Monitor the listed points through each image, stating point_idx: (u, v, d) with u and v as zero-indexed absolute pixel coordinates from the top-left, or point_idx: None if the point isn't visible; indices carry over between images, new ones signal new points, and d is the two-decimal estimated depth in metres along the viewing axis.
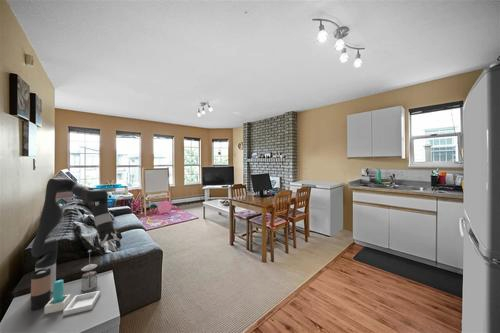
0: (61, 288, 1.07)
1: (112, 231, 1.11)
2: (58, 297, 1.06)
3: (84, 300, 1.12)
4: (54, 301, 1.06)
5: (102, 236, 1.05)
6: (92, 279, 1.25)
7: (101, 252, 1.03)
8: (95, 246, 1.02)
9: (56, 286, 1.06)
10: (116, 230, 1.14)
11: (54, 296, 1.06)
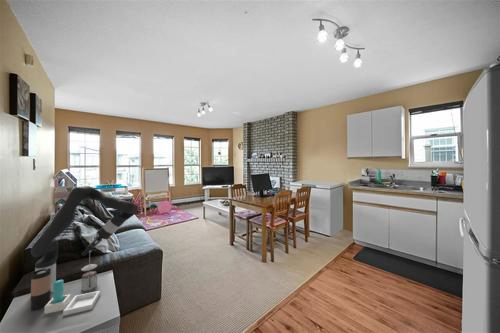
0: (61, 288, 1.07)
1: None
2: (58, 297, 1.06)
3: (84, 300, 1.12)
4: (54, 301, 1.06)
5: (98, 241, 1.14)
6: (92, 279, 1.25)
7: (84, 254, 1.09)
8: (89, 248, 1.09)
9: (56, 286, 1.06)
10: None
11: (54, 296, 1.06)
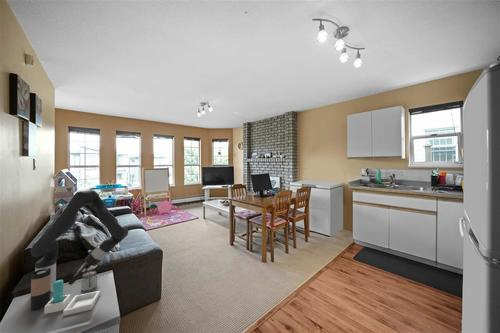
0: (61, 288, 1.07)
1: None
2: (58, 297, 1.06)
3: (84, 300, 1.12)
4: (54, 301, 1.06)
5: (86, 269, 1.11)
6: (92, 279, 1.25)
7: (71, 283, 1.06)
8: (76, 277, 1.06)
9: (56, 286, 1.06)
10: None
11: (54, 296, 1.06)
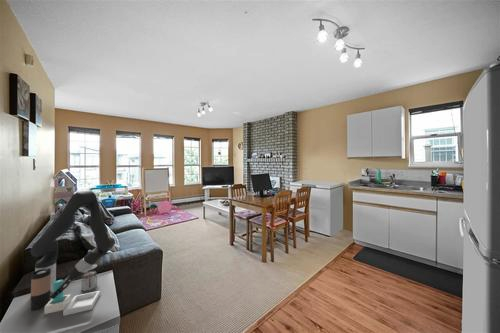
0: None
1: None
2: (58, 297, 1.06)
3: (84, 300, 1.12)
4: (54, 301, 1.06)
5: (68, 283, 1.07)
6: (92, 279, 1.25)
7: (53, 297, 1.04)
8: (58, 291, 1.04)
9: (56, 286, 1.06)
10: None
11: None
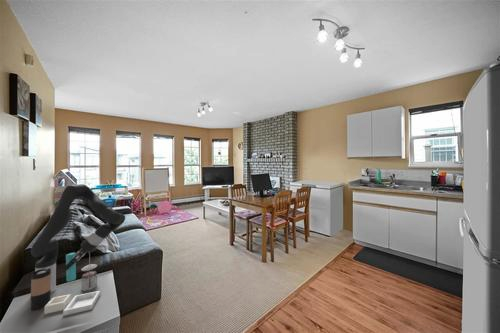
0: None
1: None
2: (71, 269, 1.07)
3: (84, 300, 1.12)
4: (67, 273, 1.07)
5: (81, 256, 1.09)
6: (92, 279, 1.25)
7: (66, 268, 1.05)
8: (71, 262, 1.05)
9: (69, 258, 1.07)
10: None
11: None
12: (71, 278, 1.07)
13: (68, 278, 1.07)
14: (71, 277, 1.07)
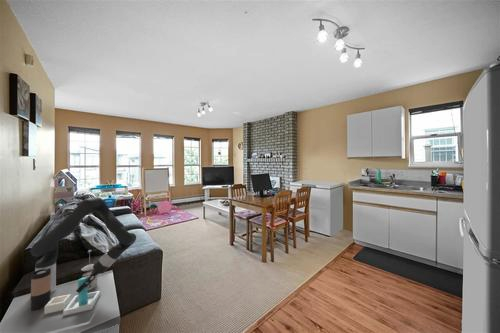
0: None
1: None
2: (83, 294, 1.08)
3: None
4: (79, 298, 1.08)
5: (94, 276, 1.10)
6: None
7: (79, 290, 1.05)
8: (84, 285, 1.05)
9: (81, 283, 1.08)
10: None
11: (79, 293, 1.08)
12: (83, 303, 1.08)
13: (80, 303, 1.07)
14: (83, 302, 1.08)
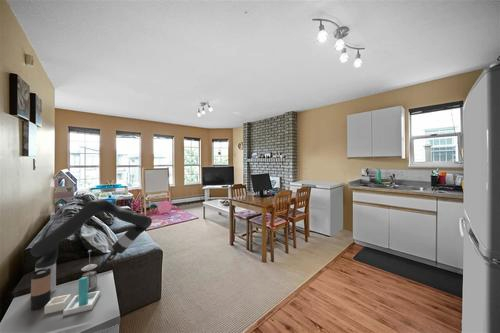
0: (86, 285, 1.10)
1: None
2: (84, 293, 1.08)
3: None
4: (80, 297, 1.08)
5: None
6: (92, 279, 1.25)
7: (100, 269, 1.09)
8: (105, 263, 1.09)
9: (82, 282, 1.08)
10: None
11: (79, 293, 1.08)
12: (83, 303, 1.08)
13: (81, 303, 1.07)
14: (83, 301, 1.08)
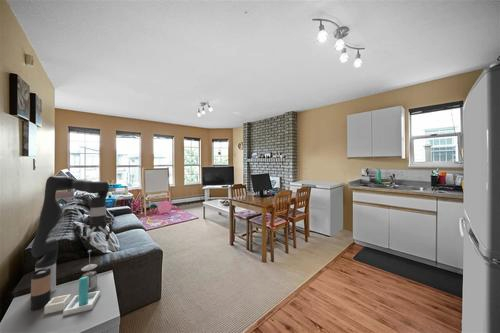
0: (86, 284, 1.10)
1: (102, 224, 1.16)
2: (84, 293, 1.09)
3: None
4: (80, 297, 1.08)
5: (90, 227, 1.14)
6: (92, 279, 1.25)
7: None
8: None
9: (82, 282, 1.09)
10: (108, 223, 1.17)
11: (80, 292, 1.08)
12: (84, 302, 1.08)
13: (81, 302, 1.08)
14: (84, 301, 1.08)
